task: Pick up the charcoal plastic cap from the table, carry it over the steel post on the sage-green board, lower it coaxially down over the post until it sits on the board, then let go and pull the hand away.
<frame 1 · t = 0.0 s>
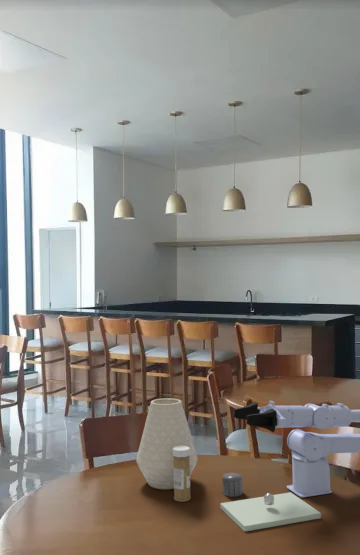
hand: (240, 416, 140), 22 cm above the table, tool horizontal, fingers open, 7 cm apart
vase: (167, 483, 154), on the table
sprinkles bottle: (182, 499, 141), on the table
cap: (232, 493, 145), on the table
post board: (269, 512, 132), on the table
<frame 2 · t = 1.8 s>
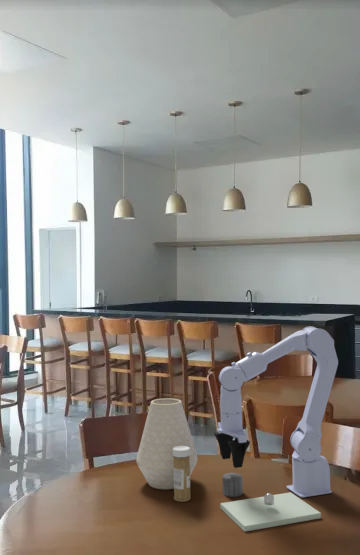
hand: (231, 462, 145), 8 cm above the table, tool pointing down, fingers open, 7 cm apart
nothing on the table moved.
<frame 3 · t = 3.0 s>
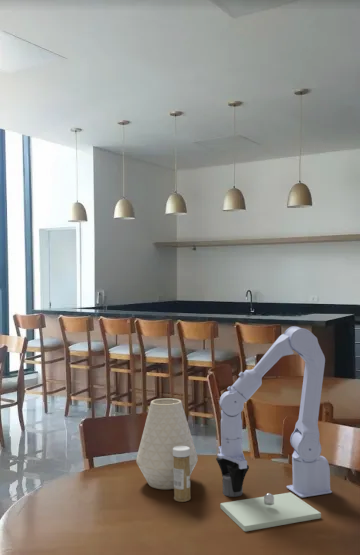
hand: (232, 487, 145), 1 cm above the table, tool pointing down, fingers closed on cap, 5 cm apart
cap: (232, 493, 145), on the table, touching gripper
everything else where it was.
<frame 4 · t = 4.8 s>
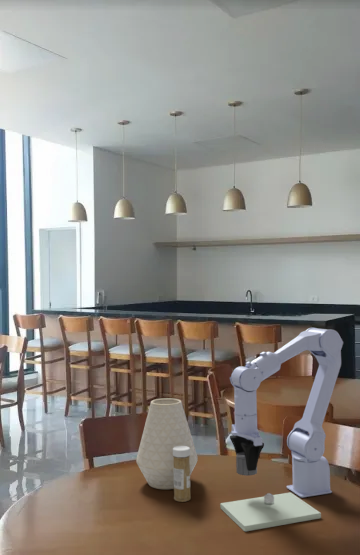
hand: (246, 466, 140), 9 cm above the table, tool pointing down, fingers closed on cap, 5 cm apart
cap: (246, 472, 140), point 7 cm above the table, touching gripper
everything else where it was.
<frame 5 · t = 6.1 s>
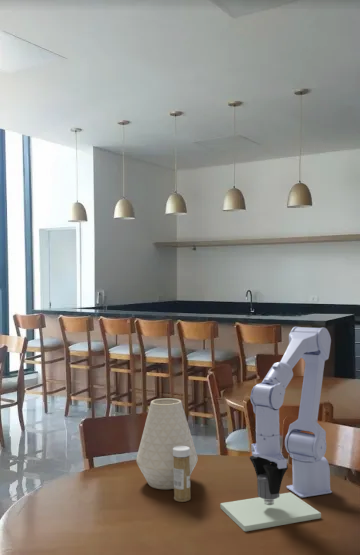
hand: (268, 489, 132), 6 cm above the table, tool pointing down, fingers closed on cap, 5 cm apart
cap: (268, 495, 132), point 4 cm above the table, touching gripper
everything else where it was.
when the fingers open (4 cm above the table, at t = 7.1 s): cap stays where it is, resting on post board.
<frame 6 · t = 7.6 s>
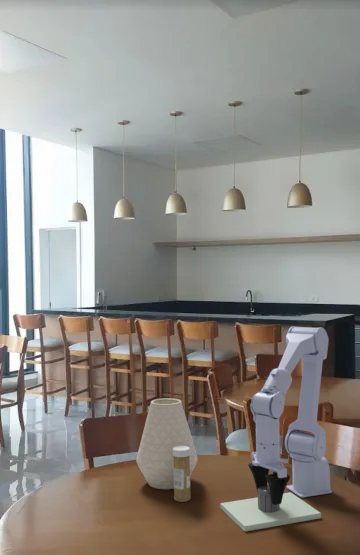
hand: (269, 498, 132), 4 cm above the table, tool pointing down, fingers open, 7 cm apart
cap: (268, 508, 132), point 1 cm above the table, touching post board
everything else where it was.
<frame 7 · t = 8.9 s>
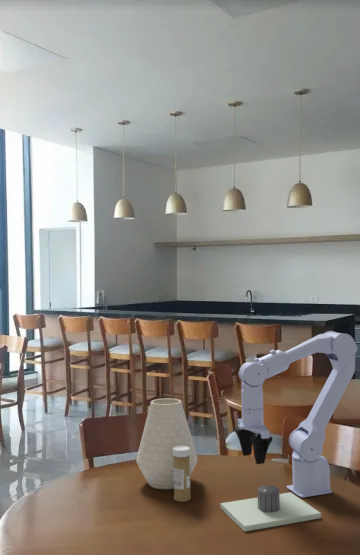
hand: (253, 459, 144), 9 cm above the table, tool pointing down, fingers open, 7 cm apart
nothing on the table moved.
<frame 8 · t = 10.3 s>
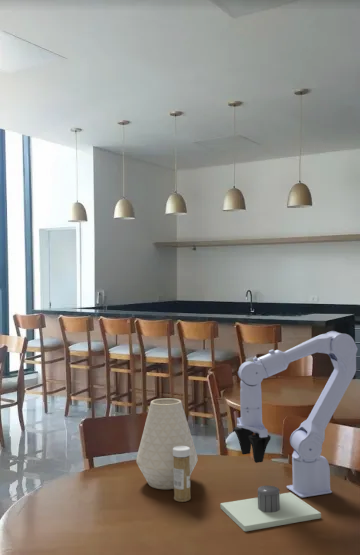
hand: (252, 457, 145), 9 cm above the table, tool pointing down, fingers open, 7 cm apart
nothing on the table moved.
at the end: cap 0.1 cm off-centre on the post board, point 1.2 cm above the post board's base; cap tilted 0°; the gripper is holding nothing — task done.
